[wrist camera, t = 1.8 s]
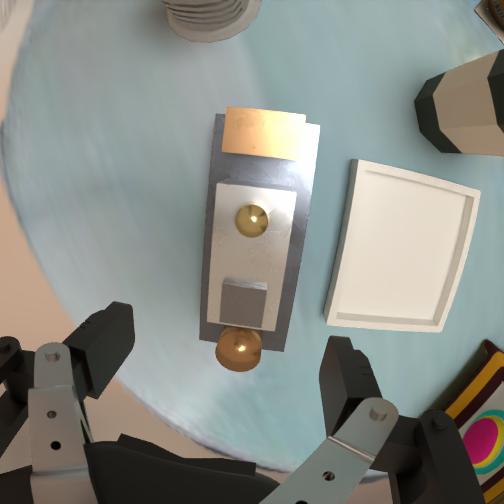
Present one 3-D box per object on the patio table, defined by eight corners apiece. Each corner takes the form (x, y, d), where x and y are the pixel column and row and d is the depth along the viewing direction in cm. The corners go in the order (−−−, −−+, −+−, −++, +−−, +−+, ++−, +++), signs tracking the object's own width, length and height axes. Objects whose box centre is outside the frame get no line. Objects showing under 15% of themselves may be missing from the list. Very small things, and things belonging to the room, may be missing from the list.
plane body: (226, 121, 26) (203, 105, 18) (312, 131, 26) (328, 119, 17) (209, 314, 33) (188, 365, 24) (283, 324, 32) (283, 379, 24)
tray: (351, 159, 26) (358, 159, 24) (468, 188, 26) (481, 191, 23) (323, 312, 31) (326, 324, 29) (432, 321, 31) (440, 332, 28)
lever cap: (228, 178, 23) (213, 184, 18) (293, 185, 23) (297, 194, 18) (217, 295, 26) (204, 328, 21) (275, 303, 26) (274, 338, 21)
